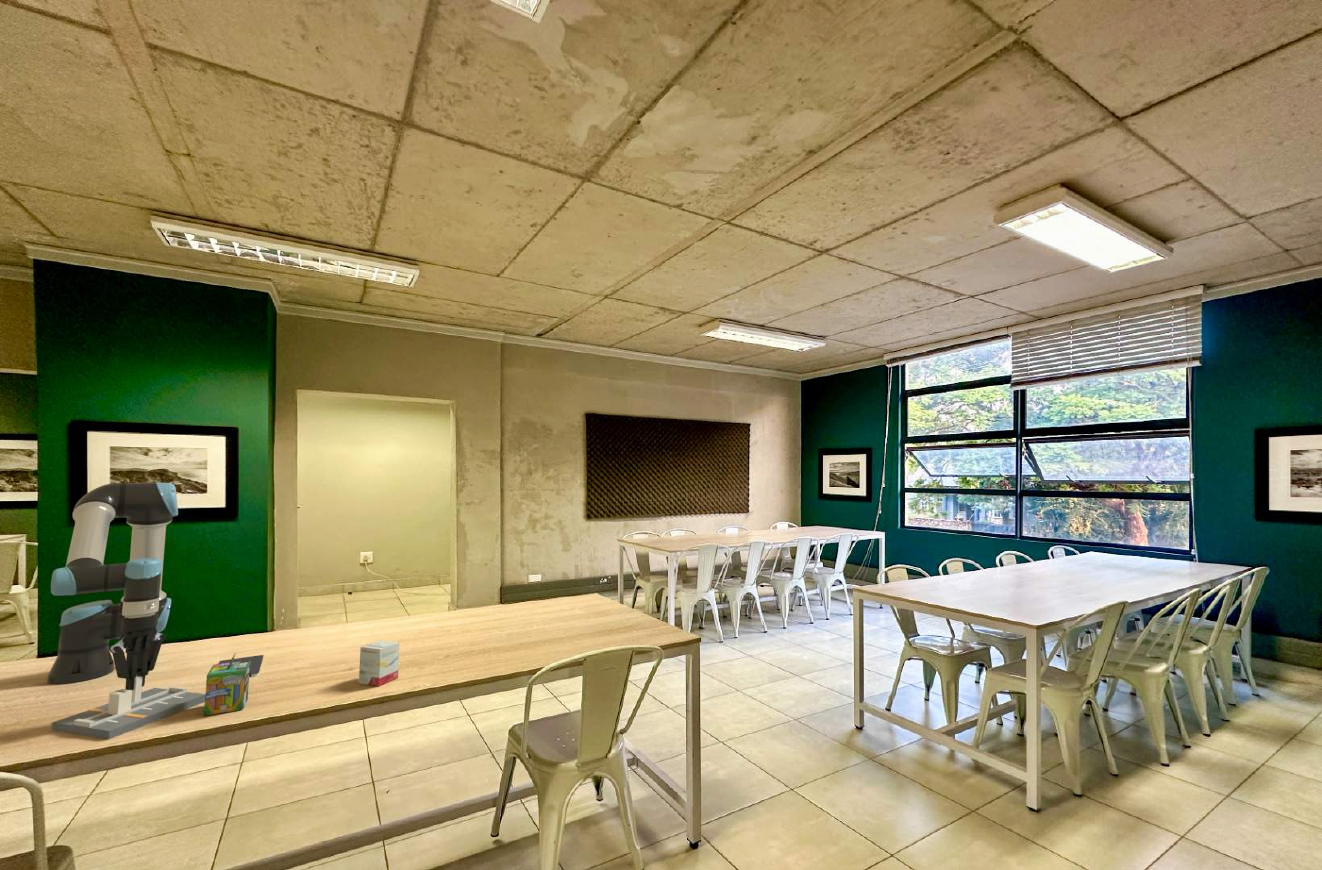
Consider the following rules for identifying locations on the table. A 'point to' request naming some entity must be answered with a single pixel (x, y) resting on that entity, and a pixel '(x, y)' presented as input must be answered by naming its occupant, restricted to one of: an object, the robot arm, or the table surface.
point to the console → (130, 713)
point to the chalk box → (227, 687)
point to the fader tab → (119, 701)
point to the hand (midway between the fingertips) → (134, 700)
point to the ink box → (379, 663)
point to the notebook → (254, 665)
